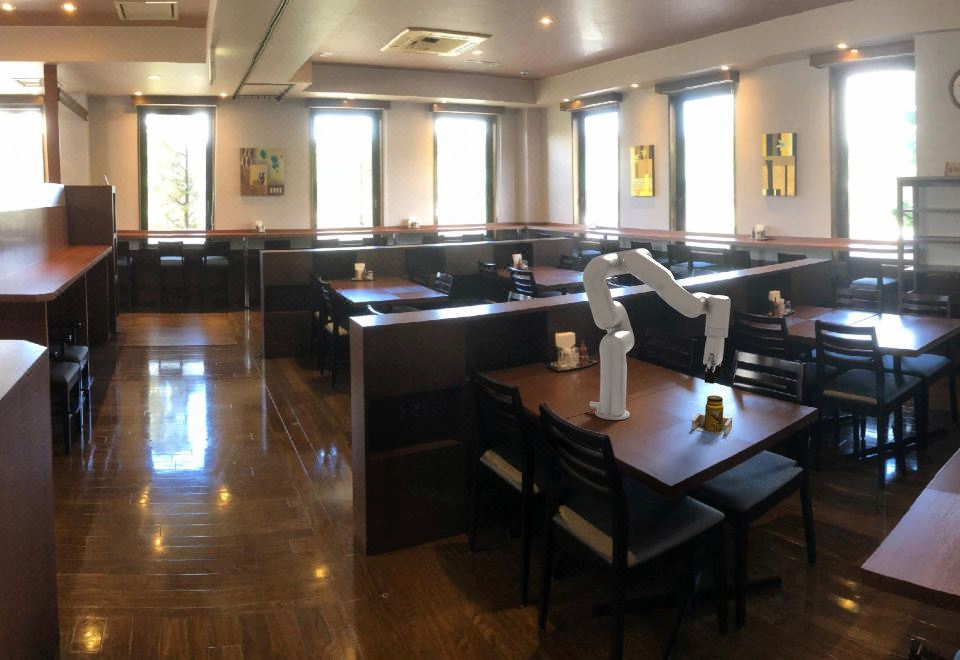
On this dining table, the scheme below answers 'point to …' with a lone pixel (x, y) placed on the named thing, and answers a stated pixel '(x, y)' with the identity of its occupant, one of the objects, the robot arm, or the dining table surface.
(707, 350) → the robot arm
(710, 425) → the condiment
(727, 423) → the u rest
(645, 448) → the dining table surface
